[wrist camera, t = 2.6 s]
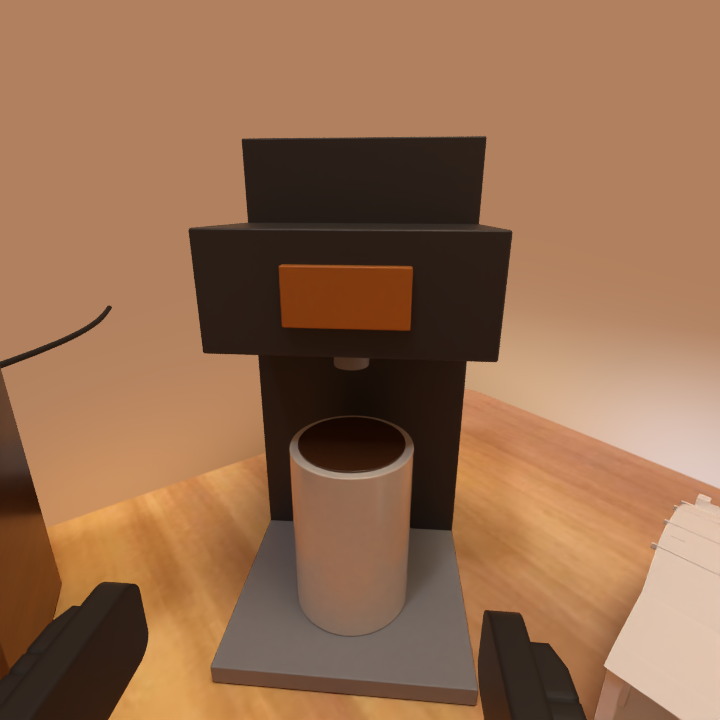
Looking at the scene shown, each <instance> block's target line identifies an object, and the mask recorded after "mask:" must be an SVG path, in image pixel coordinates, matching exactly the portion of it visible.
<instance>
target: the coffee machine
mask: <svg viewBox="0 0 720 720" xmlns="http://www.w3.org/2000/svg"><path fill="white" fill-rule="evenodd" d="M485 148H486V137H485V136H475V137H373V138H372V137H371V138H370V137H368V138H367V137H366V138H262V139H261V138H260V139H259V138H258V139H242V149H243V162H244V175H245V188H246V200H247V213H248V223H240V224H229V225H218V226H206V227H195V228H190V229H189V238H190V246H191V254H192V263H193V271H194V279H195V288H196V296H197V304H198V313H199V321H200V329H201V337H202V346H203V352H204V353H212V354H213V353H214V354H245V355H258V357H259V370H260V383H261V396H262V409H263V422H264V434H265V448H266V461H267V474H268V487H269V500H270V513H271V521H270V523H269V526H268V528H267V531H266V533H265V536H264V538H263V541H262V543H261V545H260V548H259V550H258V553H257V555H256V558H255V560H254V562H253V565H252V567H251V570H250V572H249V575H248V577H247V579H246V582H245V584H244V587H243V589H242V592H241V594H240V597H239V599H238V601H237V604H236V606H235V609H234V611H233V614H232V616H231V618H230V621H229V623H228V626H227V628H226V631H225V633H224V636H223V638H222V640H221V643H220V645H219V648H218V650H217V653H216V655H215V657H214V660H213V662H212V665H211V673H212V679H213V682H221V683H232V684H243V685H254V686H265V687H276V688H288V689H299V690H310V691H321V692H332V693H343V694H354V695H365V696H376V697H388V698H399V699H410V700H421V701H432V702H443V703H454V704H465V705H476V703H477V695H478V686H477V680H476V674H475V668H474V662H473V656H472V650H471V644H470V638H469V632H468V625H467V619H466V613H465V607H464V601H463V595H462V589H461V583H460V577H459V571H458V565H457V559H456V553H455V547H454V541H453V535H452V522H453V511H454V499H455V488H456V477H457V465H458V454H459V443H460V431H461V420H462V409H463V397H464V386H465V375H466V362H467V361H478V362H497V361H498V355H499V347H500V338H501V337H500V336H501V329H502V319H503V311H504V303H505V293H506V285H507V276H508V267H509V258H510V249H511V240H512V231H511V230H507V229H501V228H496V227H491V226H485V225H480V224H479V216H480V205H481V193H482V181H483V170H484V159H485ZM338 416H367V417H373V418H378V419H382V420H385V421H388V422H391V423H393V424H395V425H397V426H399V427H400V428H402V429H403V430H405V431H406V432H407V433H408V434H409V436H410V437H411V439H412V441H413V444H414V460H413V480H412V500H411V520H410V540H409V560H408V580H407V596H406V600H405V603H404V606H403V608H402V610H401V611H400V613H399V614H398V616H397V617H396V618H395V619H394V620H393V621H392V622H391V623H390V624H388V625H387V626H385V627H384V628H382V629H380V630H378V631H376V632H373V633H370V634H366V635H361V636H342V635H337V634H333V633H330V632H327V631H325V630H323V629H321V628H320V627H318V626H316V625H315V624H314V623H313V622H311V621H310V620H309V618H308V617H307V616H306V615H305V613H304V612H303V610H302V608H301V606H300V604H299V600H298V594H297V577H296V559H295V541H294V524H293V506H292V488H291V471H290V453H289V447H290V443H291V440H292V438H293V437H294V436H295V434H296V433H297V432H298V431H300V430H301V429H302V428H304V427H305V426H307V425H309V424H311V423H314V422H316V421H319V420H323V419H327V418H331V417H338Z"/></svg>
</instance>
